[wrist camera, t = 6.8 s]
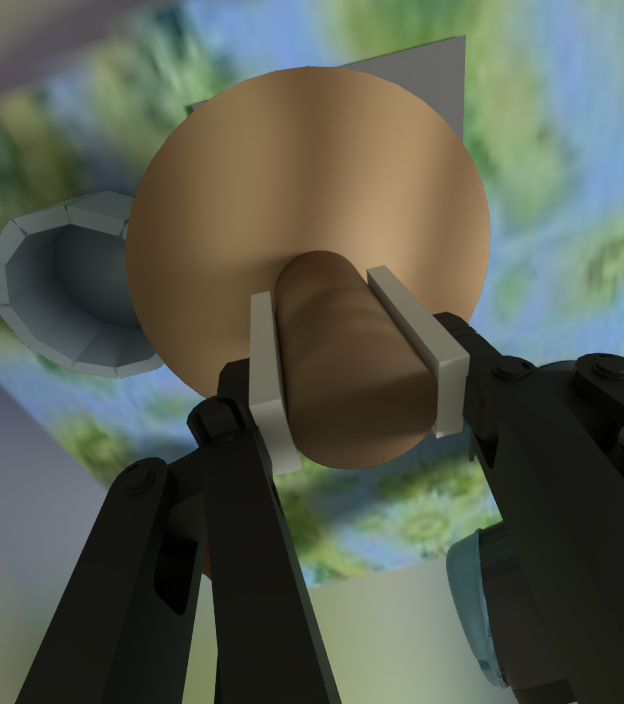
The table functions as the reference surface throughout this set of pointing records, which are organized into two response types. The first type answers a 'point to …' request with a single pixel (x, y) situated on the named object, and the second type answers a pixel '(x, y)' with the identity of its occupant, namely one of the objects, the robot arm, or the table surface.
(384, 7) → the table surface
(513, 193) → the table surface
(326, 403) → the wooden dowel stand
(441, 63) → the rubber mat
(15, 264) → the ceramic bowl
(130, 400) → the table surface
